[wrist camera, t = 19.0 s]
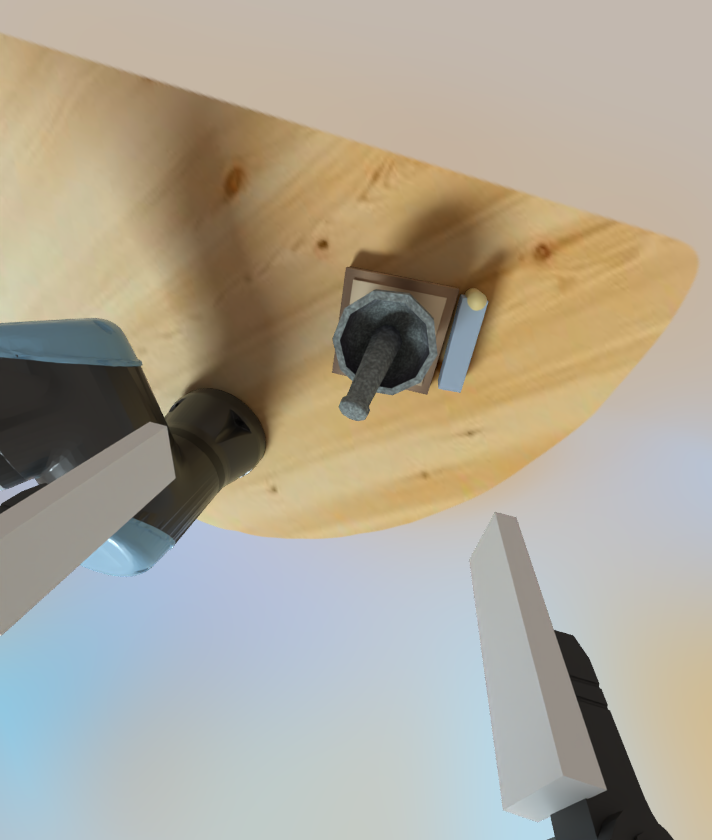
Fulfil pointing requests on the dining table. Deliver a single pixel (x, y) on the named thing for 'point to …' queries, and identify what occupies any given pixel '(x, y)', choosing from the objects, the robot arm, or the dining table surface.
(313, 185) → the dining table surface
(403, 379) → the mortar and pestle
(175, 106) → the dining table surface
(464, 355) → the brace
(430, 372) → the stand
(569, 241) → the dining table surface
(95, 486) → the robot arm
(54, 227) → the dining table surface
